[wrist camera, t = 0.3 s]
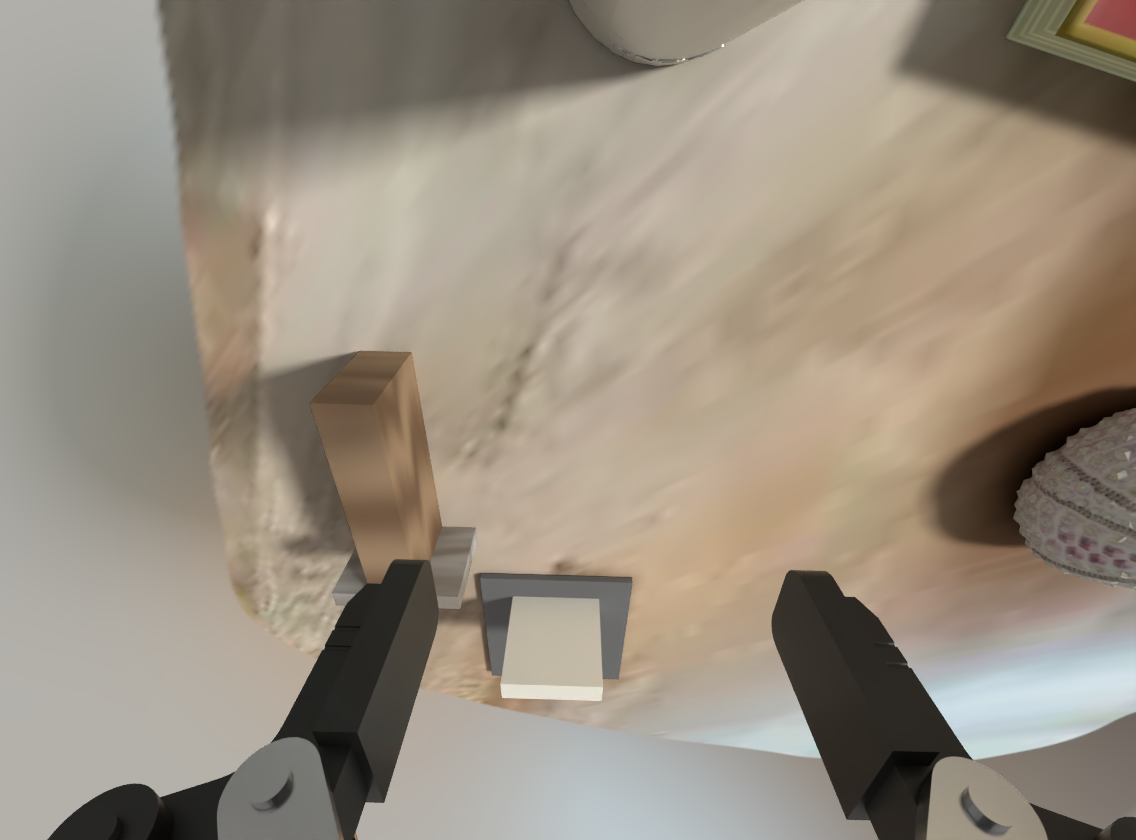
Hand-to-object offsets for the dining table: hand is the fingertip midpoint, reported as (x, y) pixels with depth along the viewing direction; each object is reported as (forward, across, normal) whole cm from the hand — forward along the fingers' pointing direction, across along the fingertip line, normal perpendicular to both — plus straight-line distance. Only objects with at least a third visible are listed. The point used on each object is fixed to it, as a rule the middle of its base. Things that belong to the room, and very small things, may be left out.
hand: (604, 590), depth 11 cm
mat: (+19, +2, +27) cm, 33 cm away
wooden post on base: (+18, +12, +8) cm, 23 cm away
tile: (+18, +2, +23) cm, 30 cm away
